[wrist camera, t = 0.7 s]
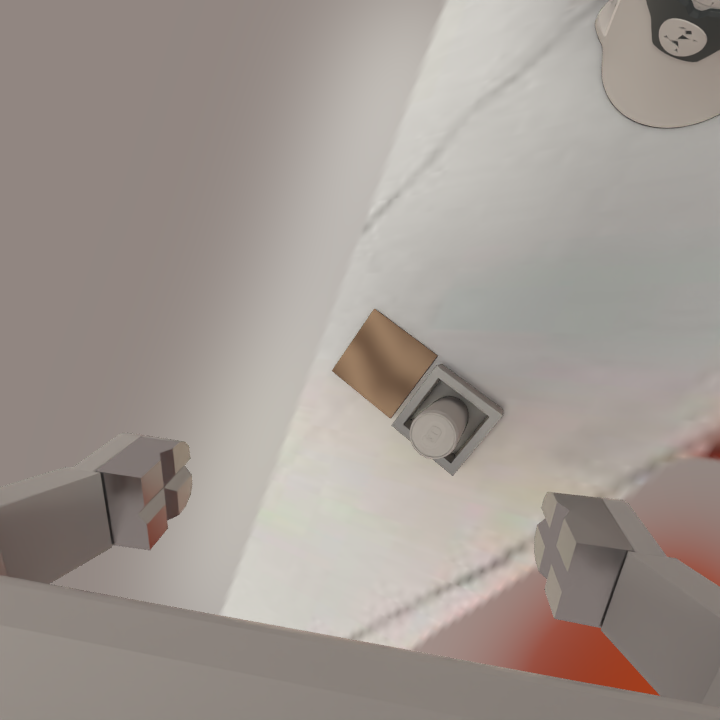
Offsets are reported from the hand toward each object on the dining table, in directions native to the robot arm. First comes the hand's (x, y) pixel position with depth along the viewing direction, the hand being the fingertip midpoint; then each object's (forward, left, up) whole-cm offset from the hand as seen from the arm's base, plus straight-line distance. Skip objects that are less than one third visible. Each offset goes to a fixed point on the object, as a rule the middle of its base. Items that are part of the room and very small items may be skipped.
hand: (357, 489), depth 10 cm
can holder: (+7, 0, -43) cm, 44 cm away
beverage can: (+7, 0, -44) cm, 44 cm away
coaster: (+7, -10, -43) cm, 45 cm away
